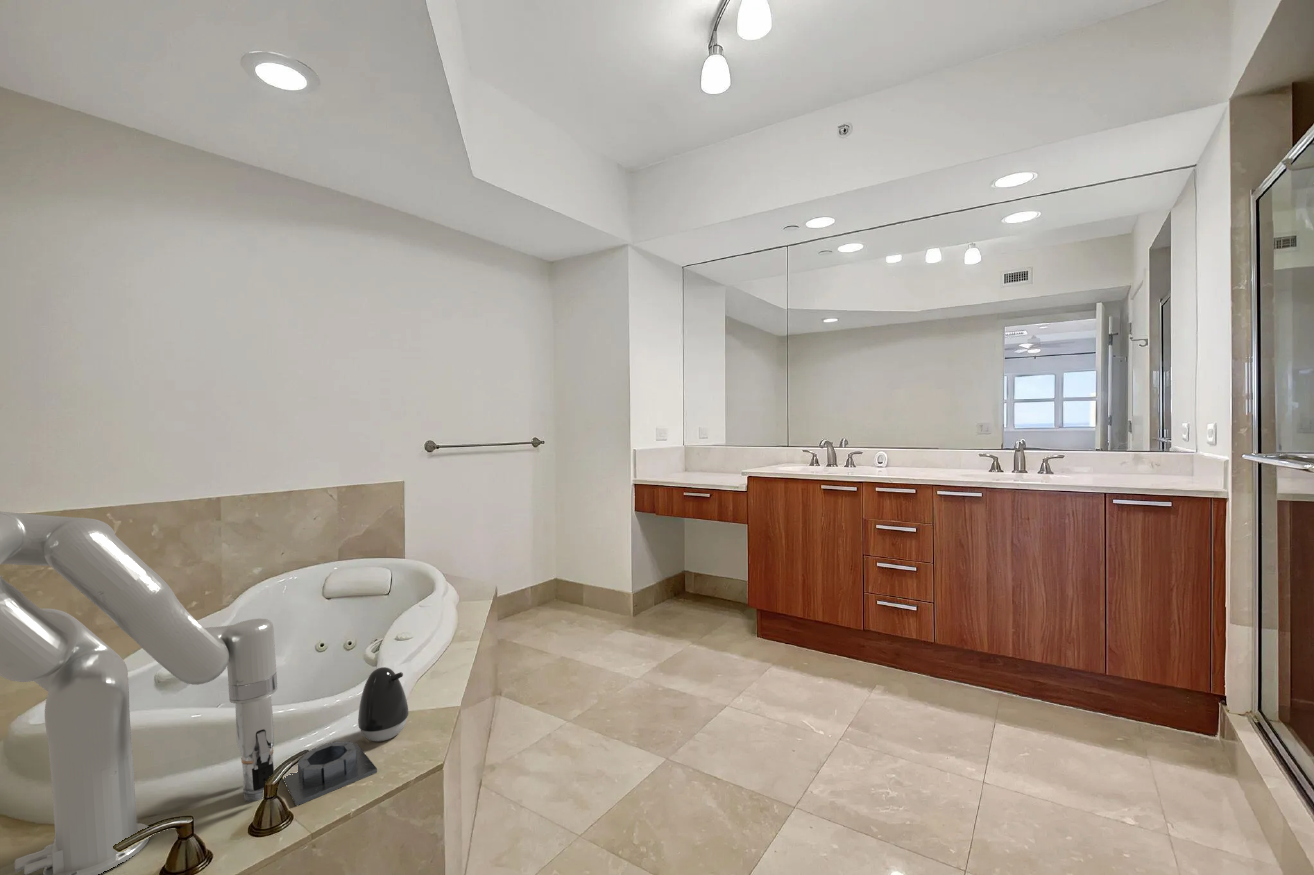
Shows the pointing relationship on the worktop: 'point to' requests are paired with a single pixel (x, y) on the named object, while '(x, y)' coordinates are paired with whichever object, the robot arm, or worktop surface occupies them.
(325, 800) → the worktop surface
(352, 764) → the bore block
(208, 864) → the worktop surface
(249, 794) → the piston
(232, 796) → the worktop surface
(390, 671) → the pump dispenser
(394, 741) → the worktop surface
